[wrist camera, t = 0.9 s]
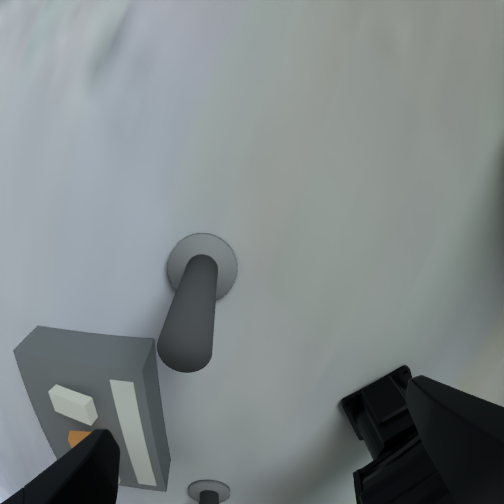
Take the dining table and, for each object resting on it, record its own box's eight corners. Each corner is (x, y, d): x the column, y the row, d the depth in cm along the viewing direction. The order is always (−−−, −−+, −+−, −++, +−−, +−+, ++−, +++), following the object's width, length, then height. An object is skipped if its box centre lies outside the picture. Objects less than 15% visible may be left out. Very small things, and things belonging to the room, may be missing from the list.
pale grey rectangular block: (92, 397, 17) (84, 406, 16) (97, 416, 18) (91, 425, 17) (56, 384, 18) (48, 391, 17) (62, 403, 18) (55, 411, 17)
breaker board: (154, 339, 22) (141, 371, 18) (170, 460, 25) (166, 492, 21) (37, 325, 21) (12, 351, 17) (75, 444, 24) (63, 472, 21)
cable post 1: (249, 280, 21) (266, 370, 12) (190, 308, 21) (168, 409, 12) (216, 220, 20) (206, 271, 10) (156, 252, 20) (103, 325, 11)
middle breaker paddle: (109, 432, 19) (109, 441, 18) (114, 447, 20) (114, 456, 19) (69, 430, 18) (67, 439, 17) (75, 445, 19) (74, 454, 18)
